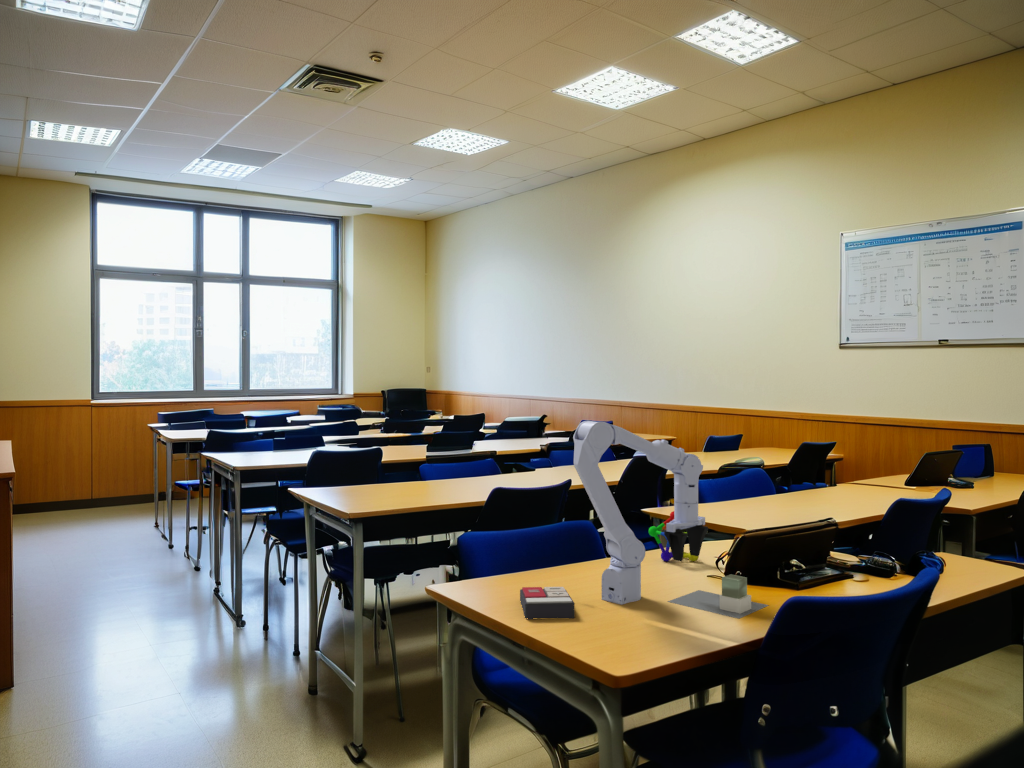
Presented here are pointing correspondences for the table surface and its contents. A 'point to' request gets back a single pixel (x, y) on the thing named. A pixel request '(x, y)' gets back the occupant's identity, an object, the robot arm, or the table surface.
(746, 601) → the base brick
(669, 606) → the table surface
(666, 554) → the educational toy
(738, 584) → the green cube
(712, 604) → the base mat
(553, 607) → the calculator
